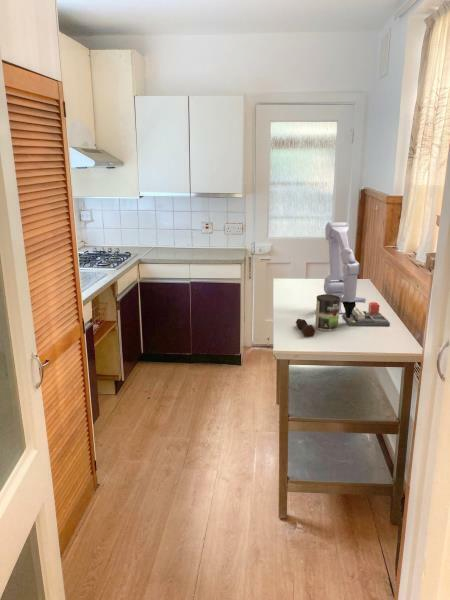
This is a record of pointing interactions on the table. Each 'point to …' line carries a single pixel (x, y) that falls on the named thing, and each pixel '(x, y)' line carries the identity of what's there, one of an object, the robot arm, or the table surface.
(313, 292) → the table surface
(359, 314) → the toggle tagged
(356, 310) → the toggle
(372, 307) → the cap
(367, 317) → the grey tray
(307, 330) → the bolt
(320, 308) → the coffee can
